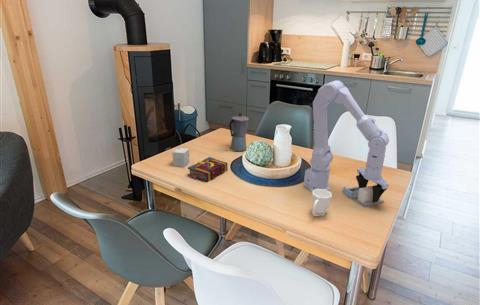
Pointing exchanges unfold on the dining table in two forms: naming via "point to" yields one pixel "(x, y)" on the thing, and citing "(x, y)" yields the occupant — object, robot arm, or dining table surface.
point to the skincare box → (180, 157)
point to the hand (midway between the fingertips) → (368, 197)
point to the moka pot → (238, 132)
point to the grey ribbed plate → (354, 193)
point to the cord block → (365, 194)
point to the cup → (321, 201)
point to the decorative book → (207, 169)
